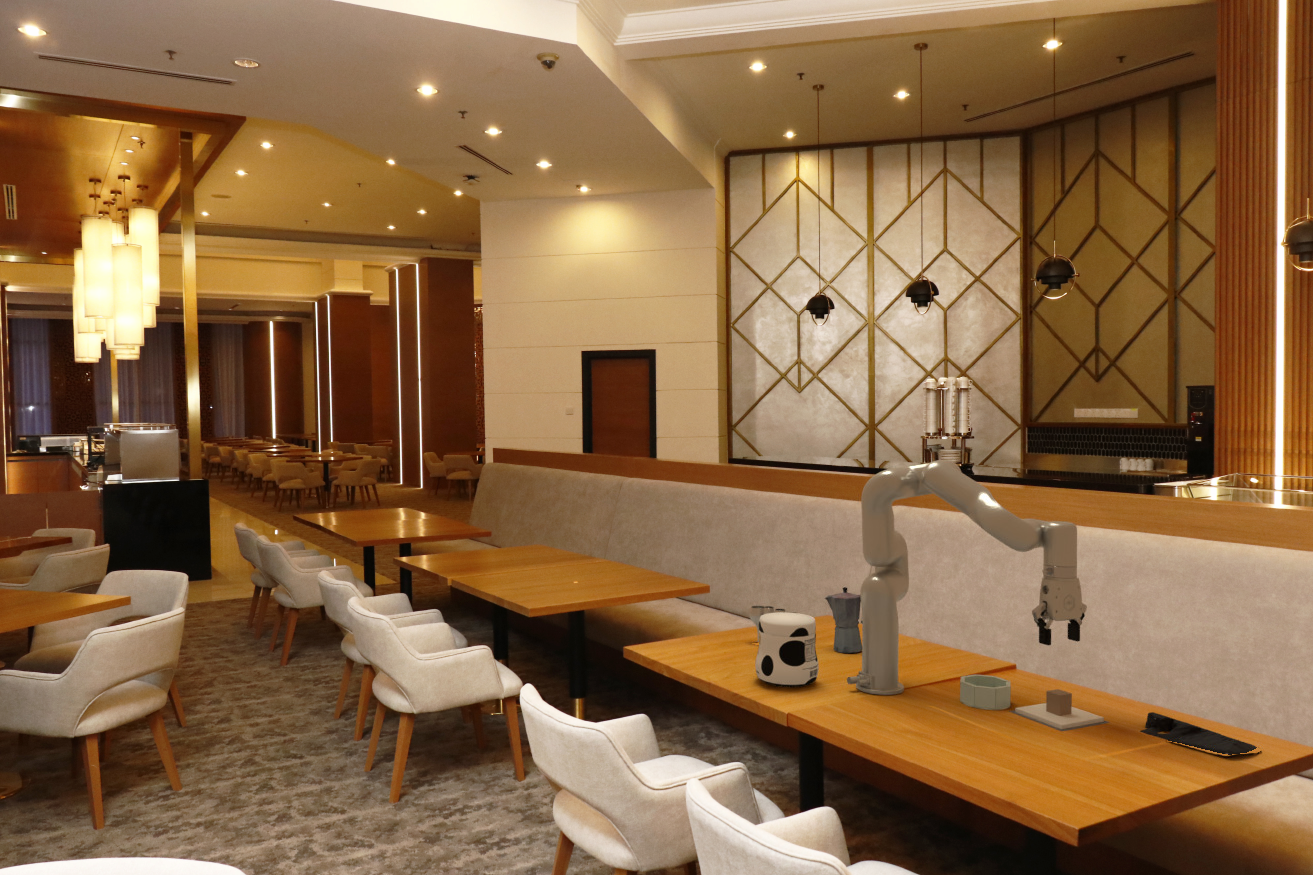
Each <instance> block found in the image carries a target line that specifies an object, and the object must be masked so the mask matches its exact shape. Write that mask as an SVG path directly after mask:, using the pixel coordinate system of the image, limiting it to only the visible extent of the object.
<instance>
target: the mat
mask: <svg viewBox="0 0 1313 875" xmlns="http://www.w3.org/2000/svg"><path fill="white" fill-rule="evenodd" d="M1008 712H1009V713H1012V714H1015V715H1018V716H1019V717H1022V718H1024V719H1025V718H1026V719H1028V720H1030V721H1034V722H1036V723H1039V724H1041V725H1044V726H1046V727H1048V728H1051V729H1055V730H1057V731H1060V732H1066V731H1071V730H1077V729H1083V728H1088V727H1092V726H1099V725H1104V724H1105V725H1106V724H1109V723H1111V722H1110V721H1108V720H1105V719H1104V722H1099V723H1094V724H1088V725H1083V726H1077V727H1072V728H1066V729H1059V728H1056V727H1054V726H1051V725H1048V724H1046V723H1043V722H1040V721H1038V720H1035V719H1032V718H1030V717H1027V716H1024V715H1022V714H1019V713H1016V712H1015V709H1014V710H1009V711H1008Z"/></svg>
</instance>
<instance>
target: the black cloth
mask: <svg viewBox="0 0 1313 875" xmlns="http://www.w3.org/2000/svg"><path fill="white" fill-rule="evenodd" d="M1145 722H1146V723H1145V725H1144V729H1142V730H1139V732H1140V733H1144V734H1146V735H1150V736H1153V737H1157V738H1159V739H1163V740H1165V741H1167V740H1168V741H1172V742H1177V743H1182V744H1185V745H1189V746H1194V747H1197V748H1201V749H1205V750H1210V751H1213V752H1217V753H1222V754H1228V755H1232V754H1240V753H1247V752H1249V751H1252V750H1254V749H1256V748H1257V747H1258V746H1256V745H1254V744H1251V743H1248V742H1245V741H1242V740H1239V739H1237V738H1234V737H1230V736H1226V735H1224V734H1221V733H1219V732H1216V731H1213V730H1209V729H1207V728H1204V727H1200V726H1198V725H1195V724H1193V723H1192V724H1191V723H1188V722H1185V721H1183V720H1179V719H1176V718H1173V717H1171V716H1170V717H1169V716H1168V715H1164V714H1160V713H1158V712H1153V711H1152V712H1148V713H1147V717H1146V721H1145ZM1162 732H1165V733H1162Z"/></svg>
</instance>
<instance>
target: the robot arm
mask: <svg viewBox="0 0 1313 875" xmlns="http://www.w3.org/2000/svg"><path fill="white" fill-rule="evenodd" d="M933 494H934V495H935V496H936V497H938V498H939V499H941V500H943V501H945V502H946V503H947V504H949V505H950V506H951V507H953V508H955V509H956V510H958V511H960V513H963V514H964V515H965V516H967V517H968V518H969V519H970V520H971V521H973V522H974V523H975V524H976V525H978V526H979V528H981V529H982V530H983V531H985V532H986V533H987V534H988V535H990V536H991V537H993V538H994V539H996V540H998V541H999V542H1000V543H1002V544H1003V545H1005V546H1007V547H1008V548H1010V549H1012V550H1014V551H1017V552H1021V553H1023V552H1024V553H1027V552H1030V551H1032V550H1034V549H1038V548H1043V561H1042V562H1043V563H1042V564H1043V566H1042V568H1043V569H1042V574H1043V577H1042V578H1041V583H1040V590H1039V602H1038V604H1039V605H1037V606H1036V607H1035V608H1033V609H1032V610H1031V615H1032V616H1033V620H1034V622H1035V623H1036V627H1038V643H1039V644H1041V645H1046V646H1052V628H1050V627H1051V625H1052V624H1053V622H1054V621H1055V622H1063V621H1069V622H1068V623H1067V639H1068V640H1071V641H1074V642H1080V641H1081V625H1082V624H1083V620H1084V618H1085V614H1086V611H1087V608H1088V607H1087V605H1086V604H1084V603H1083V597H1082V594H1083V593H1082V588H1081V587H1082V586H1081V582H1080V579H1079V577H1077V576H1078V528H1077V525H1076V524H1075V523H1073V522H1070V521H1060V520H1058V521H1057V520H1051V521H1046V520H1041V519H1035V518H1024V519H1022V518H1020V517H1019V516H1017V515H1016V514H1014V513H1012V512H1010V511H1009V510H1008V509H1007V508H1005V507H1004V506H1003V505H1001V504H1000V503H999V502H998V501H997V500H996V499H995V498H994V497H993V494H992V492H991V491H990V490H989V489H988V488H987V487H985V486H984V485H982V484H980V483H979V482H977V481H976V480H974V479H972V478H971V477H970V476H967V475H966V474H964V473H963V472H962V470H961V468H960V466H958V464H956V463H955V462H954V461H952V460H947V459H938V460H934V461H931V462H929V463H921V464H916V465H910V466H904V467H903V466H902V467H892V468H887V469H884V470H881V471H879V472H878V473H876V474H874V475H872V476H871V478H869V480H867V482H866V483H865V484H864V486H863V489H862V492H861V498H860V500H861V534H862V536H861V538H862V539H861V540H862V554H863V555H862V556H863V558H864V560H865V562H866V563H868V565H870V566H872V567H874V572H872V573H871V574H869V575H868V576H867V577H866V578H864V580H863V581H862V583H861V586H860V592H859V595H860V598H861V603H860V607H861V615H862V616H861V617H862V619H861V621H862V623H861V625H862V626H861V627H862V628H861V629H862V630H861V631H862V634H861V635H862V636H861V637H862V638H861V643H862V651H861V652H862V653H861V670H859V671H858V674H856V676H854V675H853V676H848V677H847V678H846V683H847V684H848V685H855V687H856V689H857V690H858V691H861V692H864V693H867V694H871V695H877V696H878V695H879V696H892V695H898V694H901V693H903V692H904V690H905V685H904V684H903V683H901V682H899V642H900V641H899V638H900V637H899V635H900V634H899V625H900V624H899V614H898V606H897V605H898V604H897V603H898V602H900V601H901V600H903V599H904V598H905V597H906V595H907V594H908V591H909V587H910V575H909V574H910V573H909V554H908V553H909V551H908V546H907V542H906V539H905V538H904V536H903V535H902V534H901V533H900V532H898V531H897V530H895V514H894V510H893V503H895V501H898V500H902V499H909V498H914V497H920V496H926V495H927V496H928V495H933Z"/></svg>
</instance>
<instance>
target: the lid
mask: <svg viewBox="0 0 1313 875" xmlns="http://www.w3.org/2000/svg"><path fill="white" fill-rule="evenodd" d="M1045 693H1046V694H1045V695H1046V697H1045V698H1046V700H1045V701H1046V702H1045V703H1038V704H1032V705H1024V706H1019V707H1015V708H1014V710H1015V712H1016V713H1019V714H1022V715H1024V716H1027V717H1030V718H1032V719H1035V720H1038V721H1040V722H1043V723H1046V724H1048V725H1051V726H1054V727H1056V728H1059V729H1066V728H1072V727H1077V726H1083V725H1088V724H1094V723H1099V722H1104V720H1105V719H1104V718H1105V717H1103V716H1100V715H1097V714H1094V713H1092V712H1089V711H1086V710H1083V709H1080V708H1077V707H1074V706H1072V702H1073V701H1072V700H1073V699H1072V698H1073V693H1072V692H1068V691H1066V690H1062V689H1059V688H1058V689H1052V690H1046V692H1045Z"/></svg>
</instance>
